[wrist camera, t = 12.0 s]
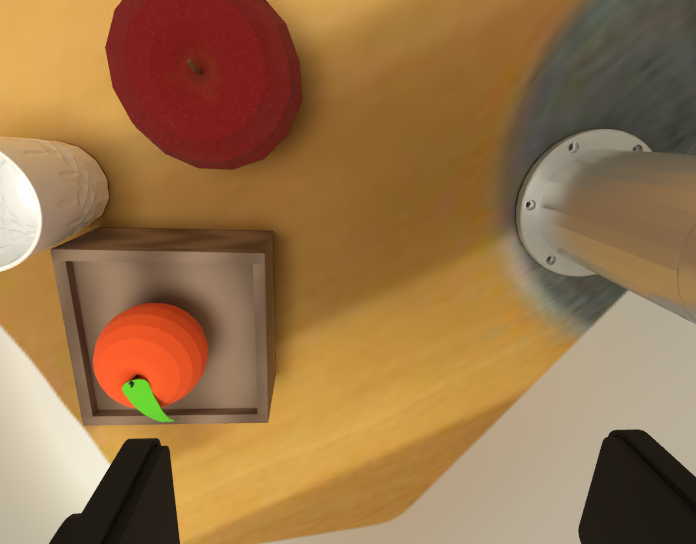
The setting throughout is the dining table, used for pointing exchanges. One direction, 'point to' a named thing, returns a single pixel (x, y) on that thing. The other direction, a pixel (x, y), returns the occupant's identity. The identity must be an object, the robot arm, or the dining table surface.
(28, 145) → the white cup
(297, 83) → the apple
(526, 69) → the dining table surface
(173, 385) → the clementine
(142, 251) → the walnut stand
